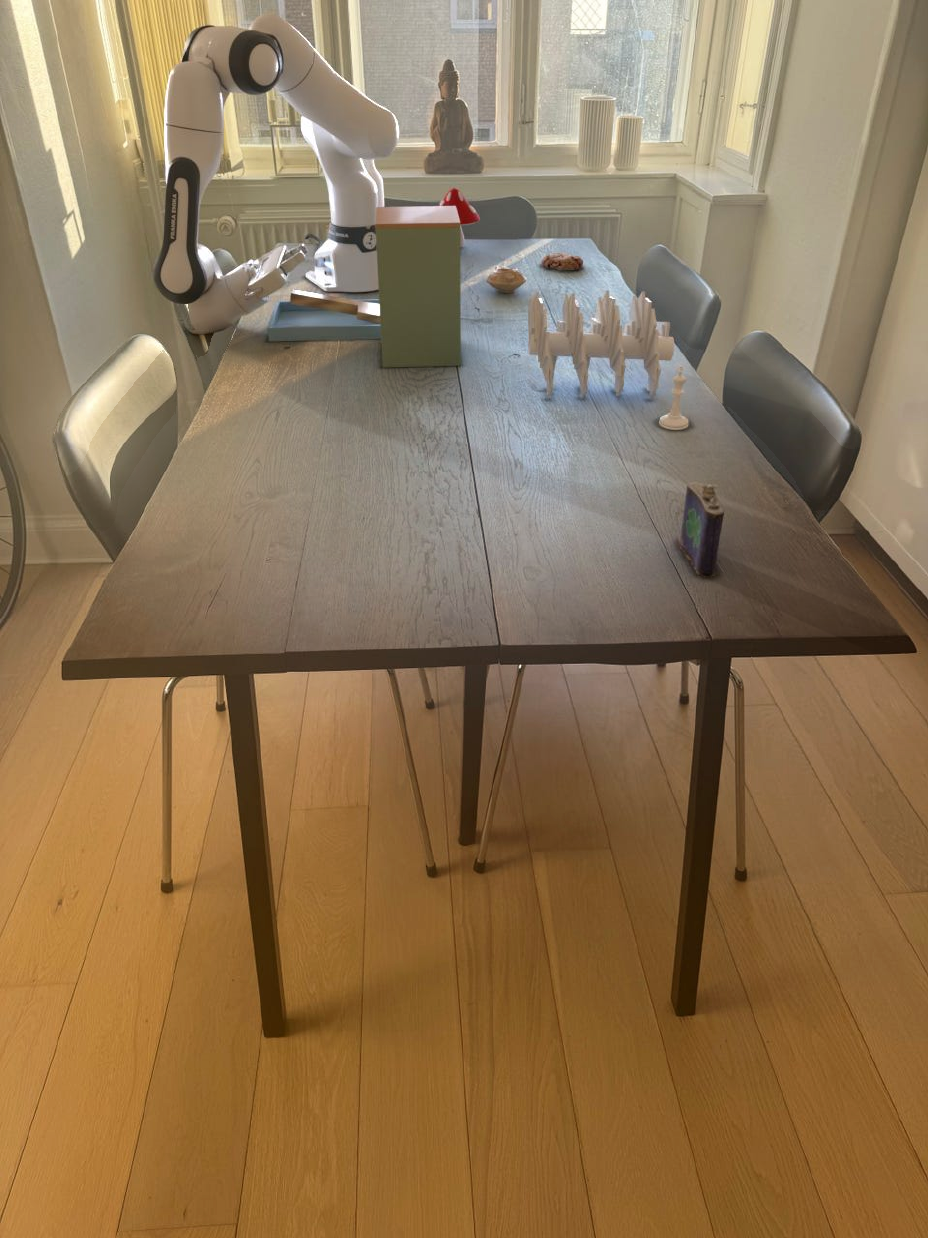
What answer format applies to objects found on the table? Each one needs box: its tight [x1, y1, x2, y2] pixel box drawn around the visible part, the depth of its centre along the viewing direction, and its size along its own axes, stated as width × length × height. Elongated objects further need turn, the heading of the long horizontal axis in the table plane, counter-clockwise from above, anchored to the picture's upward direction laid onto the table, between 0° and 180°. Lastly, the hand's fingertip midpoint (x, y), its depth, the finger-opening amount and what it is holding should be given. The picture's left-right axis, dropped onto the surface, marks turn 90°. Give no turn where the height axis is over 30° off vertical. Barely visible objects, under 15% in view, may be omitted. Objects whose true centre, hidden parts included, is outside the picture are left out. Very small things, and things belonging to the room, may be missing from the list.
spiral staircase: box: [527, 290, 675, 399], centre depth 166 cm, size 18×18×25 cm
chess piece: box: [658, 365, 690, 431], centre depth 156 cm, size 5×5×10 cm
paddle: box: [289, 288, 380, 323], centre depth 200 cm, size 23×8×2 cm, turn 94°
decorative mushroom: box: [437, 187, 481, 248], centre depth 253 cm, size 14×14×15 cm
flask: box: [678, 481, 725, 578], centre depth 120 cm, size 9×3×11 cm, turn 8°
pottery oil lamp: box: [485, 265, 527, 294], centre depth 223 cm, size 9×12×7 cm
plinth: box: [375, 205, 462, 369], centre depth 180 cm, size 15×14×26 cm
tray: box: [267, 298, 381, 342], centre depth 202 cm, size 32×19×3 cm, turn 94°
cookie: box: [540, 252, 584, 271], centre depth 240 cm, size 10×11×3 cm
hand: (304, 250), depth 193 cm, fingers open, 4 cm apart
